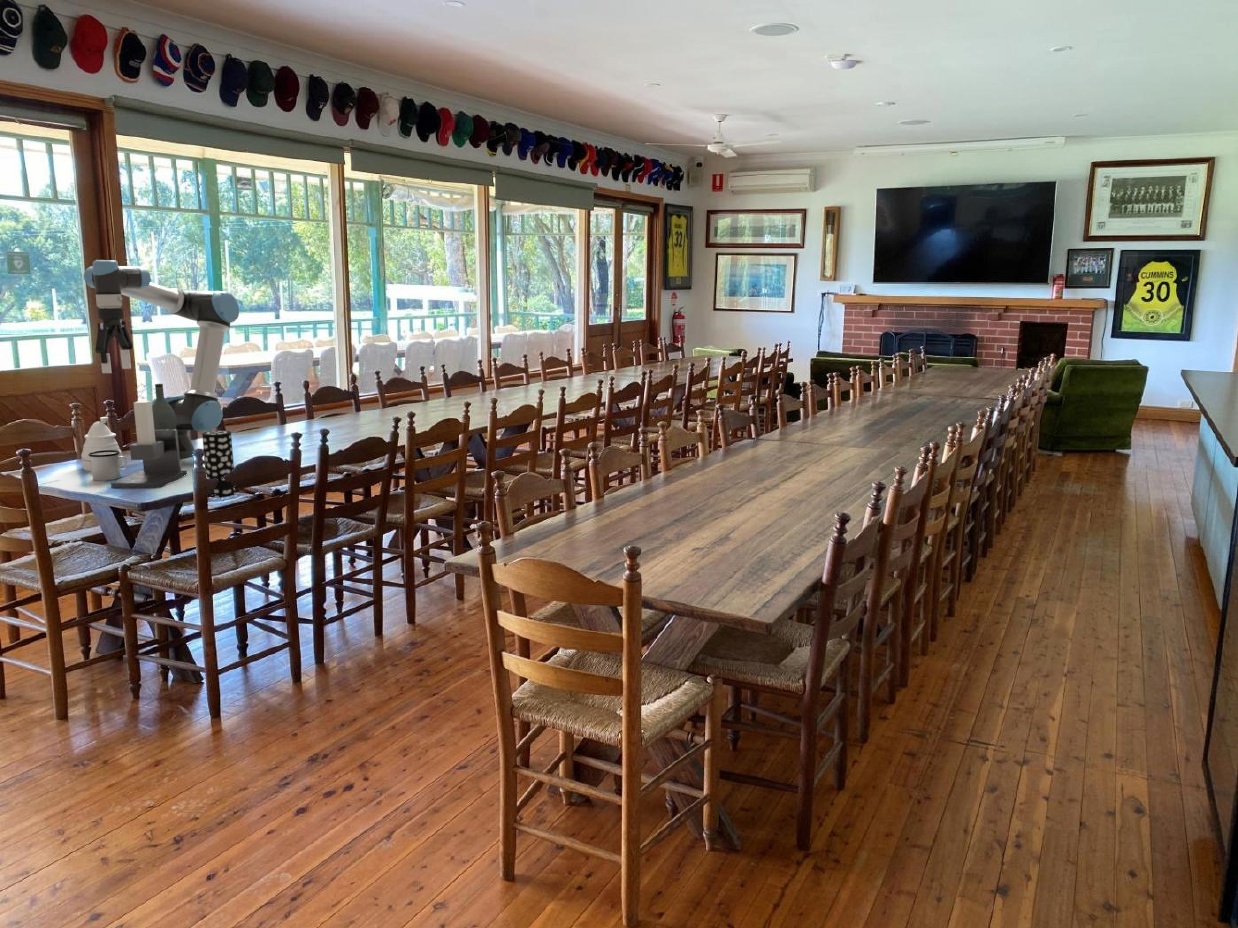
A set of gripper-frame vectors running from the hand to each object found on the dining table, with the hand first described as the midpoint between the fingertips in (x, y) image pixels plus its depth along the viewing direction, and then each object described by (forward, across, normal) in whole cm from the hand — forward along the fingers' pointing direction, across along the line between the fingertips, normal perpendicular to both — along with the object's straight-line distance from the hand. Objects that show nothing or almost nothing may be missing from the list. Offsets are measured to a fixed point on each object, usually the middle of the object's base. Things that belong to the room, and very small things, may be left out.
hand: (117, 371), depth 311 cm
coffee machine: (+36, -8, -11) cm, 39 cm away
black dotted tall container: (+37, -29, -43) cm, 63 cm away
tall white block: (+27, -8, -11) cm, 31 cm away
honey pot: (+37, +15, +16) cm, 43 cm away
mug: (+37, -3, +5) cm, 37 cm away
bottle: (+37, +17, -6) cm, 41 cm away
